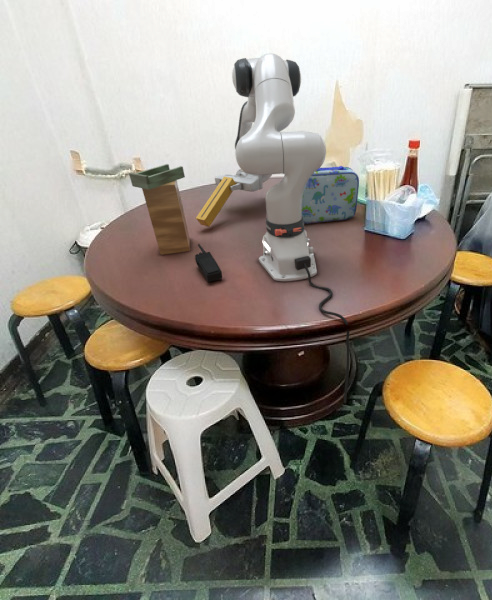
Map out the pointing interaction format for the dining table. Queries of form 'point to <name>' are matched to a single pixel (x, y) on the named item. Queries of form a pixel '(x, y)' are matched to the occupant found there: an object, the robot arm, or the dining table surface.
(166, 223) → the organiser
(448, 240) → the dining table surface
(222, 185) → the pencil case
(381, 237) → the dining table surface
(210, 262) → the walkie-talkie
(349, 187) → the lunch box
